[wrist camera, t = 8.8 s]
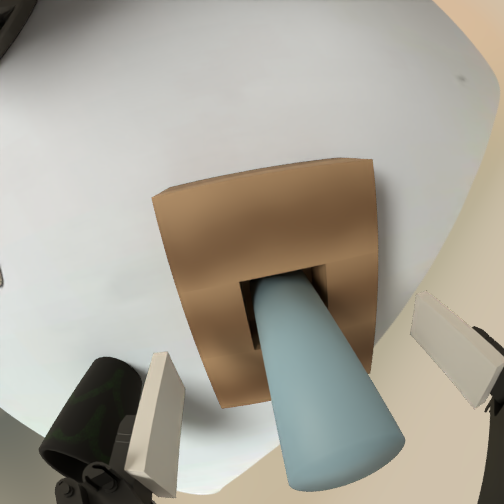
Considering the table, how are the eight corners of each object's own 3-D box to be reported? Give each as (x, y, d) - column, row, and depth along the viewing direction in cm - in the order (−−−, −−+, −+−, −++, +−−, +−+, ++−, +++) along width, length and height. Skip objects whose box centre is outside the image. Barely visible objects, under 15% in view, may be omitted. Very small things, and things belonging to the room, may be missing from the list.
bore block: (169, 187, 18) (151, 197, 13) (338, 157, 18) (372, 159, 14) (220, 367, 23) (221, 408, 19) (348, 338, 24) (370, 373, 19)
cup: (127, 342, 22) (85, 453, 10) (165, 397, 24) (150, 499, 13) (69, 353, 22) (21, 441, 11) (108, 403, 24) (82, 489, 13)
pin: (244, 265, 19) (282, 461, 6) (302, 253, 19) (418, 415, 6) (254, 314, 20) (292, 498, 7) (307, 302, 20) (391, 467, 7)
